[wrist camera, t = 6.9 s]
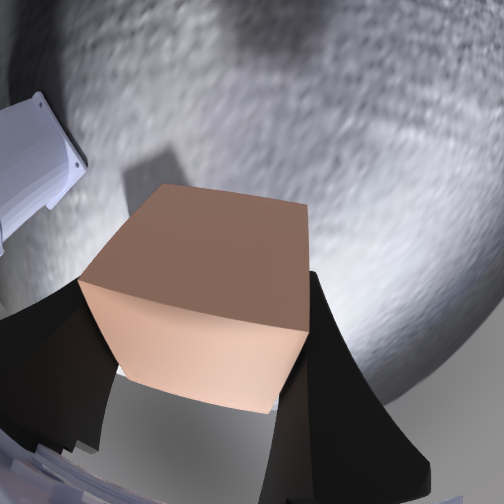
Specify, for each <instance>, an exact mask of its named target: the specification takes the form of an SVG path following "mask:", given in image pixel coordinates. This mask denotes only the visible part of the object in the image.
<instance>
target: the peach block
mask: <svg viewBox="0 0 504 504" xmlns="http://www.w3.org/2000/svg"><path fill="white" fill-rule="evenodd" d="M78 283H79V285H80V287H81V290H82V292H83V294H84V297H85V299H86V301H87V303H88V306H89V308H90V310H91V312H92V314H93V316H94V318H95V320H96V322H97V324H98V326H99V328H100V330H101V332H102V334H103V336H104V338H105V340H106V342H107V344H108V345H109V347H110V349H111V351H112V353H113V354H114V356H115V358H116V360H117V361H118V363H119V365H120V366H121V368H122V370H123V371H124V373H125V375H126V376H127V378H128V379H129V380H132V381H135V382H137V383H140V384H143V385H146V386H149V387H152V388H155V389H159V390H162V391H166V392H169V393H172V394H176V395H179V396H183V397H187V398H190V399H194V400H199V401H203V402H207V403H211V404H216V405H220V406H225V407H230V408H236V409H241V410H247V411H253V412H260V413H266V414H268V413H269V412H270V410H271V408H272V406H273V404H274V402H275V401H276V399H277V397H278V395H279V393H280V391H281V389H282V387H283V385H284V383H285V381H286V379H287V377H288V375H289V373H290V371H291V369H292V367H293V365H294V363H295V361H296V359H297V357H298V355H299V353H300V351H301V349H302V347H303V344H304V342H305V340H306V338H307V336H308V333H309V306H310V285H309V235H308V210H307V205H305V204H299V203H294V202H288V201H283V200H277V199H271V198H265V197H259V196H253V195H247V194H240V193H234V192H227V191H220V190H213V189H205V188H198V187H190V186H182V185H173V184H164V183H163V184H162V185H161V186H160V187H159V188H158V189H157V190H156V191H155V192H154V193H153V194H152V195H151V196H150V197H149V198H148V199H147V200H146V201H145V202H144V203H143V204H142V205H141V206H140V207H139V208H138V209H137V210H136V211H135V212H134V213H133V214H132V216H131V217H130V218H129V219H128V220H127V221H126V222H125V223H124V224H123V225H122V227H121V228H120V229H119V230H118V231H117V232H116V233H115V234H114V236H113V237H112V238H111V239H110V240H109V241H108V243H107V244H106V245H105V246H104V247H103V248H102V250H101V251H100V252H99V253H98V254H97V256H96V257H95V258H94V259H93V261H92V262H91V263H90V264H89V266H88V267H87V268H86V269H85V271H84V272H83V273H82V274H81V276H80V277H79V278H78Z"/></svg>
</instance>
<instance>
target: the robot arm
mask: <svg viewBox="0 0 504 504" xmlns="http://www.w3.org/2000/svg"><path fill="white" fill-rule="evenodd" d="M78 163H79V165H78ZM86 171H87V167H86V165H85V163H84V162H83V160H82V159H81V157H80V156H79V154H78V153H77V151H76V150H75V148H74V146H73V145H72V143H71V142H70V140H69V138H68V137H67V135H66V134H65V132H64V130H63V129H62V127H61V125H60V124H59V122H58V120H57V119H56V117H55V115H54V114H53V112H52V110H51V108H50V107H49V105H48V103H47V101H46V100H45V98H44V96H43V94H42V92H41V91H38V92H36V93H35V94H34V96H33V97H32V98H31V99H28V100H25V101H23V102H20V103H17V104H15V105H12V106H10V107H7V108H5V109H3V110H0V256H1V255H2V254H3V253H4V250H3V247H2V243H3V242H4V241H5V240H6V239H7V238H8V237H9V236H10V235H11V234H12V233H13V232H14V231H15V230H16V229H17V228H18V227H20V226H21V225H22V224H23V223H24V222H25V221H26V220H27V219H28V218H30V217H31V216H32V215H33V214H34V213H35V212H37V211H38V210H39V209H40V208H41V207H42V206H44V205H46V206H47V208H48V209H52V208H53V207H54V206H55V205H56V204H57V203H58V202H59V200H60V199H61V198H62V197H63V196H64V195H65V194H66V193H67V191H68V190H69V189H70V188H71V187H72V186H73V185H74V184H75V183H76V182H77V181H78V180H79V179H80V178H81V177H82V176H83V175H84V174H85V173H86ZM79 277H80V276H79ZM79 277H78V278H79ZM78 278H76V279H74V280H73V281H72V282H70V283H69V284H67V285H66V286H64V287H63V288H61V289H59V290H58V291H56V292H54V293H53V294H51V295H49V296H48V297H46V298H44V299H42V300H41V301H39V302H37V303H35V304H33V305H31V306H29V307H27V308H25V309H23V310H21V311H19V312H17V313H15V314H13V315H11V316H9V317H6V318H4V319H2V320H0V504H106V503H103V502H101V501H99V500H97V499H94V498H92V497H90V496H88V495H86V494H84V490H85V491H87V492H89V493H91V494H92V495H94V496H96V497H98V498H100V499H102V500H104V501H107V502H109V503H111V504H167V503H163V502H161V501H158V500H155V499H152V498H149V497H146V496H143V495H140V494H138V493H135V492H133V491H130V490H128V489H125V488H123V487H120V486H118V485H116V484H114V483H112V482H109V481H107V480H105V479H103V478H101V477H99V476H97V475H95V474H93V473H91V472H89V471H87V470H85V469H84V468H82V467H80V466H78V465H76V464H74V463H73V462H71V461H69V460H68V459H66V458H64V457H63V456H61V454H62V451H63V448H64V449H65V450H67V451H69V452H70V453H72V452H73V450H74V447H77V448H79V449H81V450H84V451H86V452H88V453H90V454H93V453H96V452H98V451H99V443H100V436H101V429H102V423H103V419H104V414H105V409H106V405H107V401H108V397H109V394H110V390H111V387H112V383H113V381H114V378H115V374H116V372H117V369H118V366H119V363H118V361H117V360H116V358H115V356H114V354H113V353H112V351H111V349H110V347H109V345H108V344H107V342H106V340H105V338H104V336H103V334H102V332H101V330H100V328H99V326H98V324H97V322H96V320H95V318H94V316H93V314H92V312H91V310H90V308H89V306H88V303H87V301H86V299H85V297H84V294H83V292H82V290H81V287H80V285H79V283H78ZM309 285H310V306H309V333H308V336H307V338H306V340H305V342H304V344H303V347H302V349H301V351H300V353H299V355H298V357H297V359H296V361H295V363H294V365H293V367H292V369H291V371H290V373H289V375H288V377H287V379H286V381H285V383H284V385H283V387H282V389H281V391H280V393H279V403H278V410H277V416H276V423H275V428H274V434H273V439H272V445H271V450H270V455H269V460H268V465H267V469H266V473H265V478H264V482H263V486H262V490H261V494H260V498H259V502H258V504H400V503H404V502H408V501H412V500H416V499H419V498H422V497H425V496H427V495H429V494H430V492H431V469H430V462H429V461H428V460H427V459H426V458H425V457H424V456H423V455H422V454H421V453H420V452H419V451H418V450H417V448H416V447H415V446H414V445H413V444H412V443H411V442H410V441H409V440H408V439H407V437H406V436H405V435H404V433H403V432H402V431H401V430H400V428H399V427H398V426H397V425H396V423H395V422H394V421H393V420H392V418H391V417H390V415H389V414H388V413H387V411H386V410H385V408H384V407H383V405H382V404H381V403H380V401H379V400H378V398H377V397H376V396H375V394H374V392H373V391H372V389H371V388H370V386H369V384H368V383H367V381H366V380H365V378H364V376H363V375H362V373H361V371H360V369H359V368H358V366H357V364H356V362H355V361H354V359H353V357H352V355H351V353H350V351H349V349H348V347H347V345H346V343H345V341H344V339H343V337H342V335H341V333H340V331H339V328H338V326H337V324H336V322H335V319H334V317H333V315H332V313H331V310H330V308H329V305H328V303H327V300H326V298H325V295H324V293H323V290H322V287H321V285H320V282H319V279H318V276H317V274H316V272H314V271H309ZM42 464H43V465H44V466H46V467H48V468H49V469H47V468H45V467H43V465H42ZM462 502H463V496H461V495H460V496H456V497H453V498H448V499H446V500H442V501H437V502H432V503H425V504H462Z"/></svg>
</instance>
